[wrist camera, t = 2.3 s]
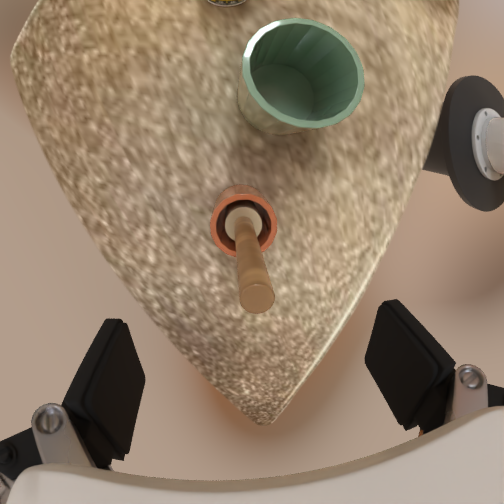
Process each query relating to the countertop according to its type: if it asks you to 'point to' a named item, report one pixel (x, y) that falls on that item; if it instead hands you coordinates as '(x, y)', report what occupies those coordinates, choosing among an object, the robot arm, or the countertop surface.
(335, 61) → the tumbler
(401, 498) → the robot arm
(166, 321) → the countertop surface
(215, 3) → the supplement bottle
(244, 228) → the brush
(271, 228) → the holder
